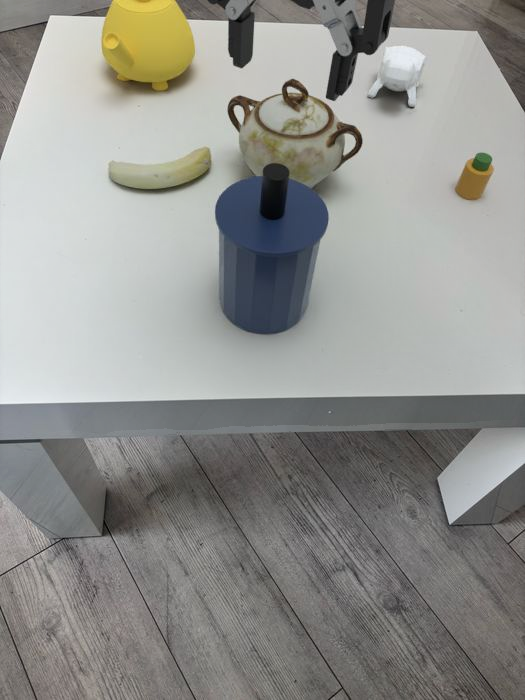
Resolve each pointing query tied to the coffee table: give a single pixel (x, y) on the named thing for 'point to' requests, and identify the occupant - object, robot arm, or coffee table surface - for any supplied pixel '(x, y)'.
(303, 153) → the sugar bowl
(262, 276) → the pot
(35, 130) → the coffee table surface
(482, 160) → the yellow and green cylinder
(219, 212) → the lid
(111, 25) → the teapot
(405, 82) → the white animal figurine
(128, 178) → the fruit
